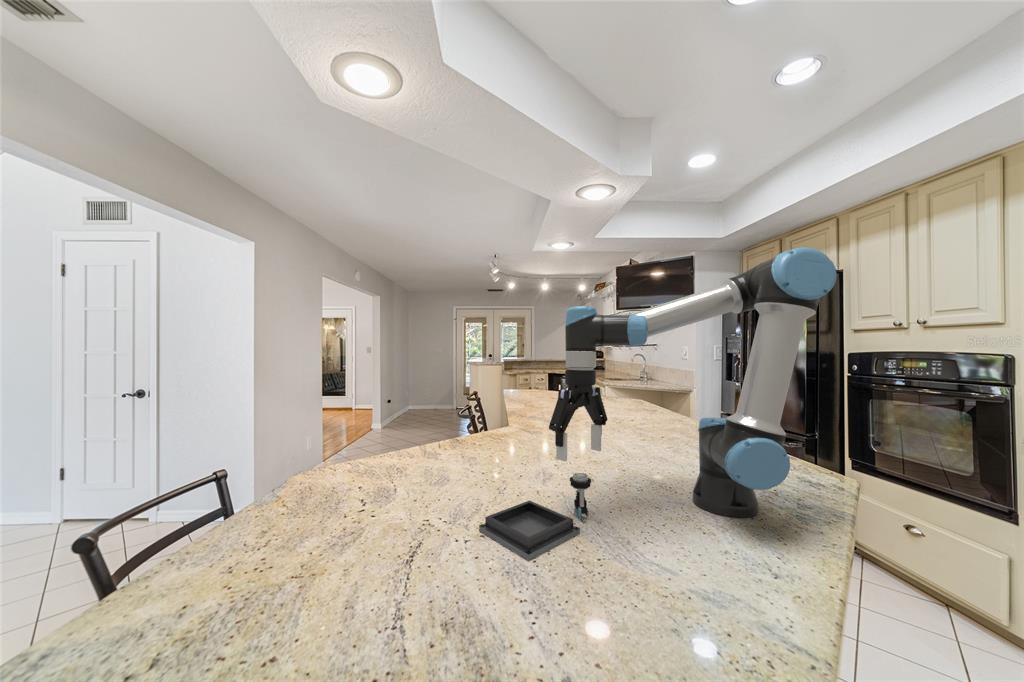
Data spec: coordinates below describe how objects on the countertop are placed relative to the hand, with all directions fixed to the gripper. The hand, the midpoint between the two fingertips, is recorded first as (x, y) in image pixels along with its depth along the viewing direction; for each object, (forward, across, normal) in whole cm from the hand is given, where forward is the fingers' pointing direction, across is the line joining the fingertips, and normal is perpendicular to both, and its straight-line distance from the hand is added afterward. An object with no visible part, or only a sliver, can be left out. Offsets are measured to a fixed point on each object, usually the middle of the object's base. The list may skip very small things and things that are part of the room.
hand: (579, 454), depth 91 cm
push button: (+15, 0, 0) cm, 15 cm away
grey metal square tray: (+15, +15, -3) cm, 21 cm away
